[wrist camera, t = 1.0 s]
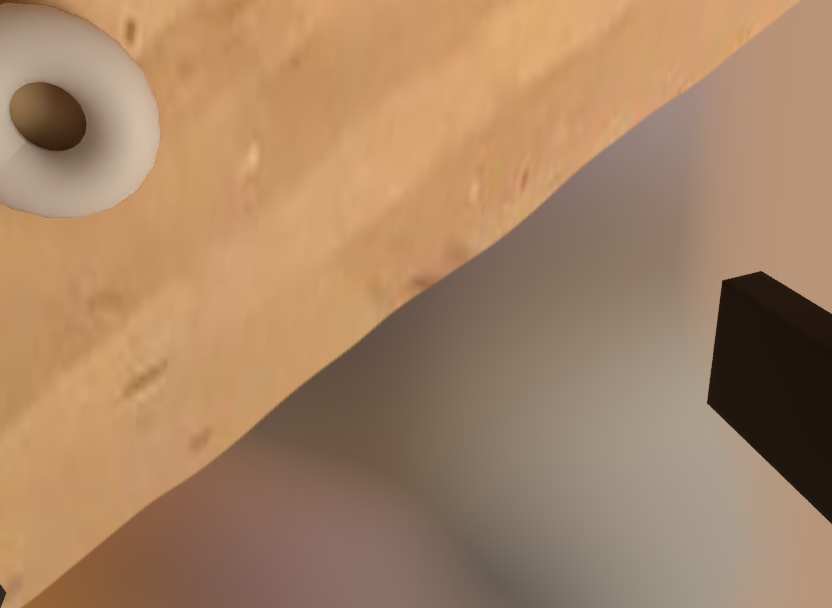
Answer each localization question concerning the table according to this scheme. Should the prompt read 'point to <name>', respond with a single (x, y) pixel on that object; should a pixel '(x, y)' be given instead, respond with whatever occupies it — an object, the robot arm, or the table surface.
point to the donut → (101, 103)
